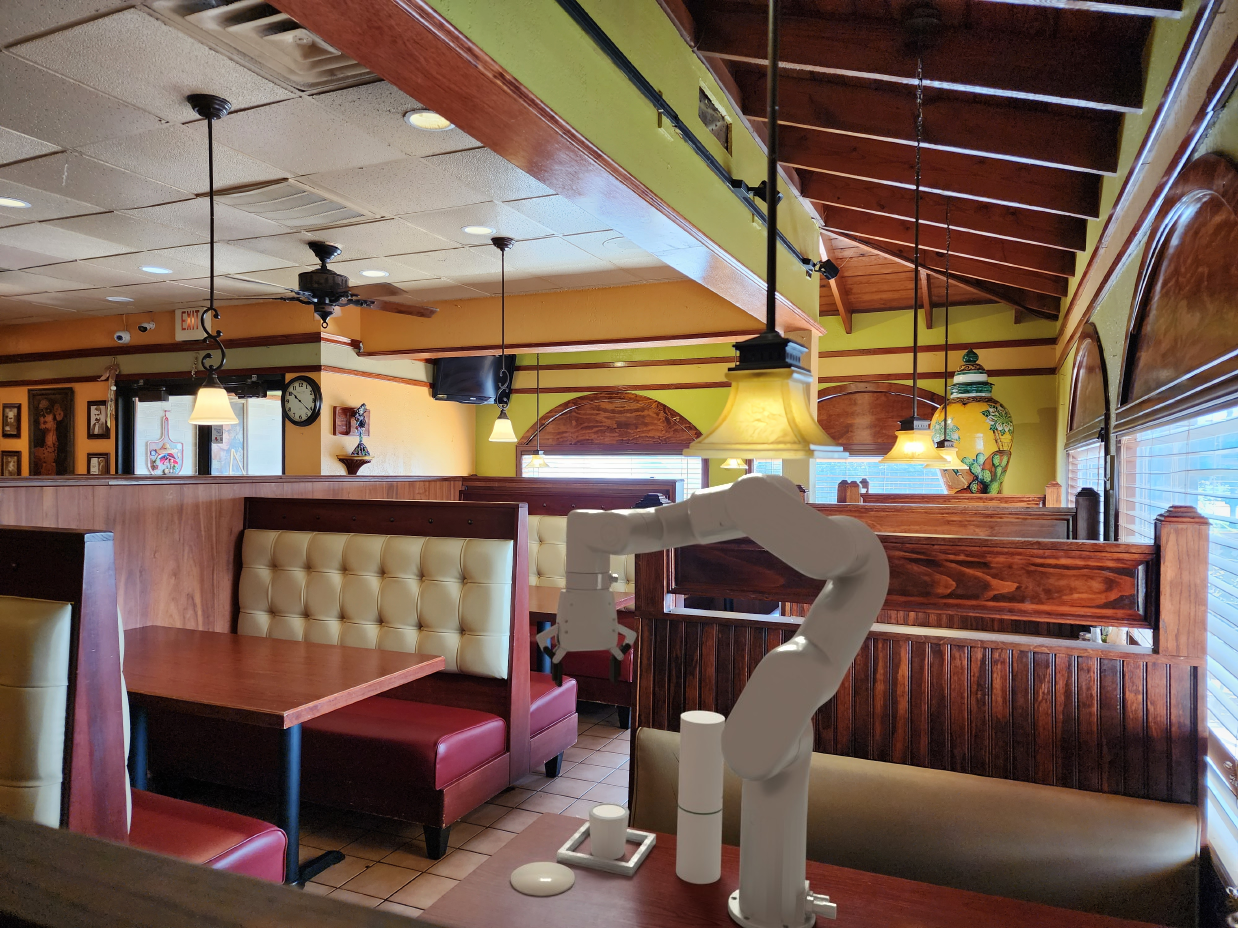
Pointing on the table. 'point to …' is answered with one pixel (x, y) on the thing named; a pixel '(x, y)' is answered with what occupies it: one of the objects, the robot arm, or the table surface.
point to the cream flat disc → (542, 878)
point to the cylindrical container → (700, 797)
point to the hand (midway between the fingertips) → (586, 683)
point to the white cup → (608, 830)
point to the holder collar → (602, 863)
